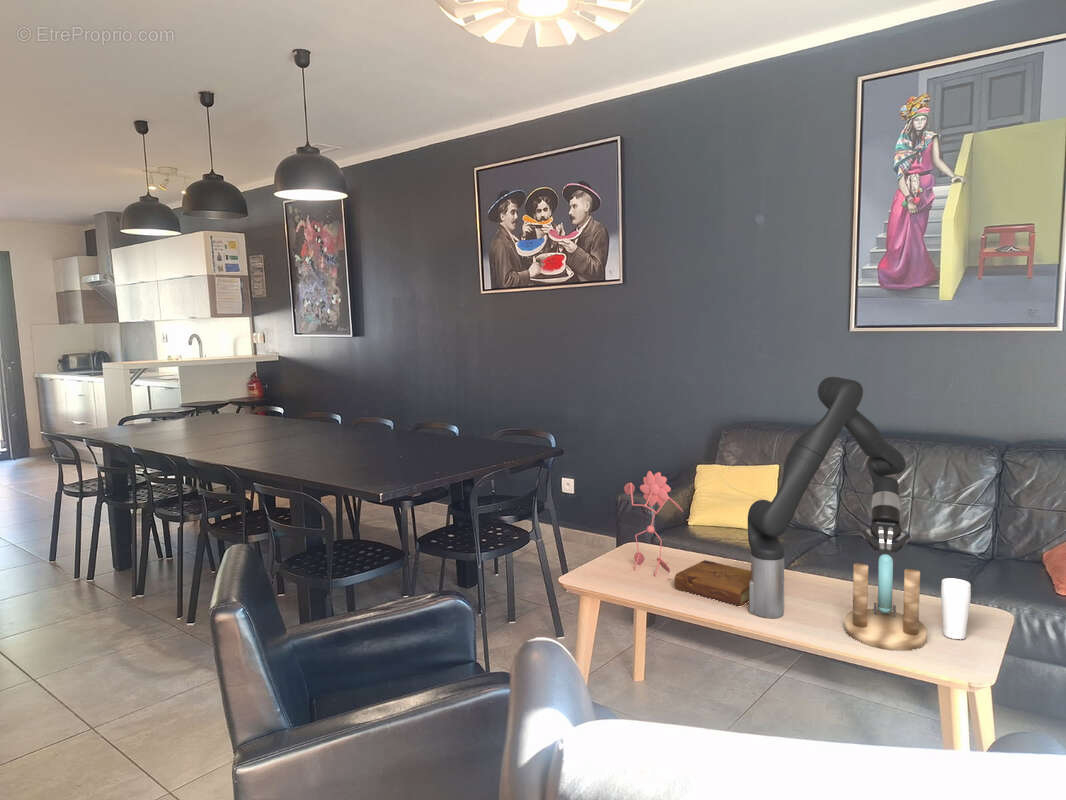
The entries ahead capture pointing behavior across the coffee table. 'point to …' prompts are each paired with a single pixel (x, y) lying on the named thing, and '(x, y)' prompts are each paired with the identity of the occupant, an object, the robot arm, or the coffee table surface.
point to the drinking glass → (955, 607)
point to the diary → (716, 582)
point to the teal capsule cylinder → (885, 583)
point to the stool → (886, 615)
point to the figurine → (653, 493)
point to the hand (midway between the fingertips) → (885, 563)
